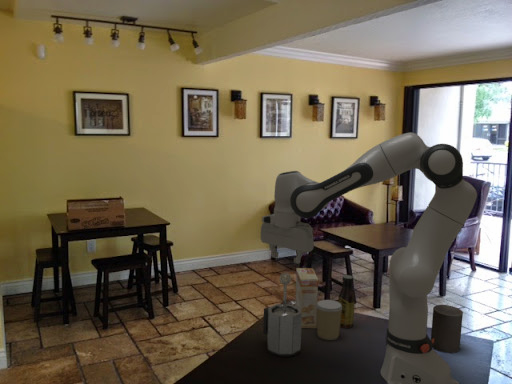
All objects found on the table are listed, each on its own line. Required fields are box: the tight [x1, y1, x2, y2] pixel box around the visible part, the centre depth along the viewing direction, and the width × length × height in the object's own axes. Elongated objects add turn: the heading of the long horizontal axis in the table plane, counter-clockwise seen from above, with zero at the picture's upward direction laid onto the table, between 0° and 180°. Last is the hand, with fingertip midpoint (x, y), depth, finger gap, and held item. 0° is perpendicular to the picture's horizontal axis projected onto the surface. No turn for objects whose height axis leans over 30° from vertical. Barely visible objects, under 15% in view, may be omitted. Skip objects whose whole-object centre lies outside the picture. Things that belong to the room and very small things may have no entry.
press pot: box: [262, 303, 302, 358], centre depth 155 cm, size 14×11×14 cm
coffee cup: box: [316, 299, 342, 341], centre depth 165 cm, size 9×9×12 cm
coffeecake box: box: [294, 267, 319, 329], centre depth 178 cm, size 15×7×20 cm, turn 1°
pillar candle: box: [430, 304, 464, 354], centre depth 157 cm, size 10×10×15 cm
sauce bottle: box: [337, 274, 356, 329], centre depth 174 cm, size 7×6×20 cm
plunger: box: [274, 272, 296, 315], centre depth 152 cm, size 8×8×14 cm
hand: (285, 260), depth 151 cm, fingers open, 8 cm apart
